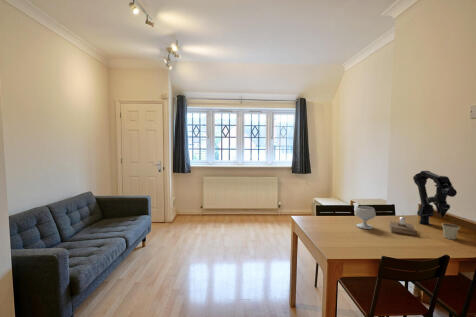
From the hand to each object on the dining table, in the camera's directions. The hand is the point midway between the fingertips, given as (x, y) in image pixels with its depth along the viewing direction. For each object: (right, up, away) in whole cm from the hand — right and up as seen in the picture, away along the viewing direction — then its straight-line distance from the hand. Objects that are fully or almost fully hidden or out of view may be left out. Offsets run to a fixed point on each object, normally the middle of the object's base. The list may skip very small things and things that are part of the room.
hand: (440, 215), depth 174 cm
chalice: (-48, -12, +12) cm, 51 cm away
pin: (-26, -11, +2) cm, 28 cm away
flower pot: (-3, -13, -11) cm, 17 cm away
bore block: (-26, -12, +2) cm, 29 cm away
